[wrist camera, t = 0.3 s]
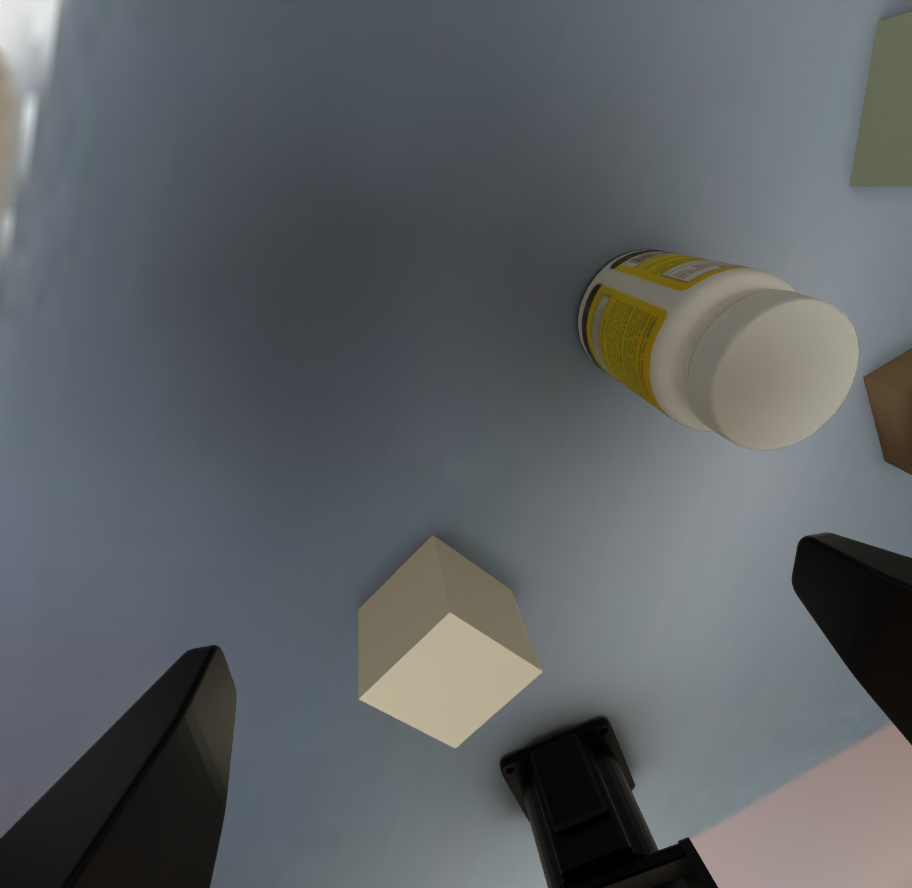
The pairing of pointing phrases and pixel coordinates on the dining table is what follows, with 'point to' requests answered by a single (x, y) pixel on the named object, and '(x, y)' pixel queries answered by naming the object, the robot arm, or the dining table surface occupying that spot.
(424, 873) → the dining table surface
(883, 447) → the walnut block
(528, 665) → the cream block
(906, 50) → the sage block
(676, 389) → the supplement bottle
